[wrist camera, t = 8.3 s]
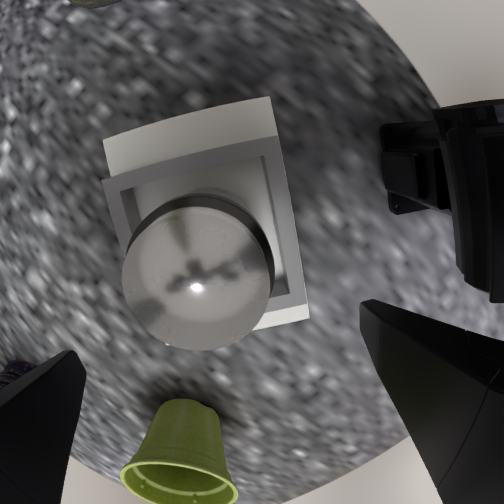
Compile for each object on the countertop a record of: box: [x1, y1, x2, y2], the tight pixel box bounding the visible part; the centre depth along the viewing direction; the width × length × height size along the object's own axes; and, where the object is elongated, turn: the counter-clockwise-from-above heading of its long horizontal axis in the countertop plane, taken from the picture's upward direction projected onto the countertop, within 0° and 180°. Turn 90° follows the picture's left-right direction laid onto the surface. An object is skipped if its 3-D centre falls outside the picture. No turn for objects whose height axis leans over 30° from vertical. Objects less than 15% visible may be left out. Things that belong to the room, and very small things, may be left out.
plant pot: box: [120, 399, 238, 504], centre depth 22 cm, size 9×9×9 cm
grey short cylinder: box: [122, 187, 275, 351], centre depth 13 cm, size 6×6×7 cm
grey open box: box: [102, 96, 309, 345], centre depth 18 cm, size 9×13×6 cm
